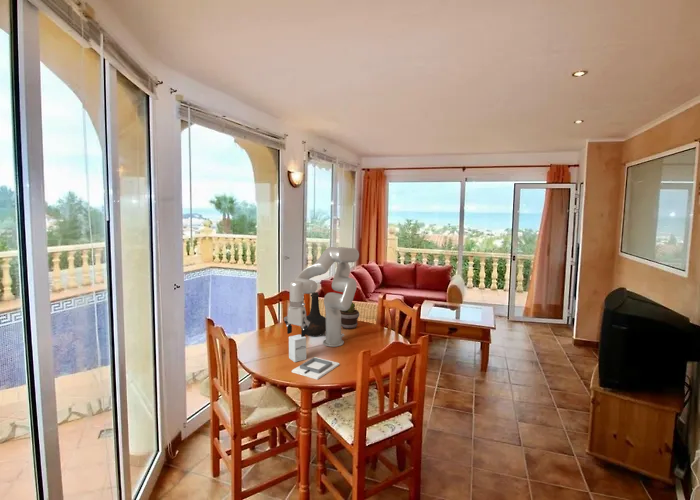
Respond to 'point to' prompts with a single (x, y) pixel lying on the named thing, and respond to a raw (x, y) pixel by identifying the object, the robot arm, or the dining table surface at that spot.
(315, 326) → the black vase
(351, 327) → the flowerpot
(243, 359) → the dining table surface
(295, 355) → the supplement box
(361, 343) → the dining table surface
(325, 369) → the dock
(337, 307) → the robot arm
